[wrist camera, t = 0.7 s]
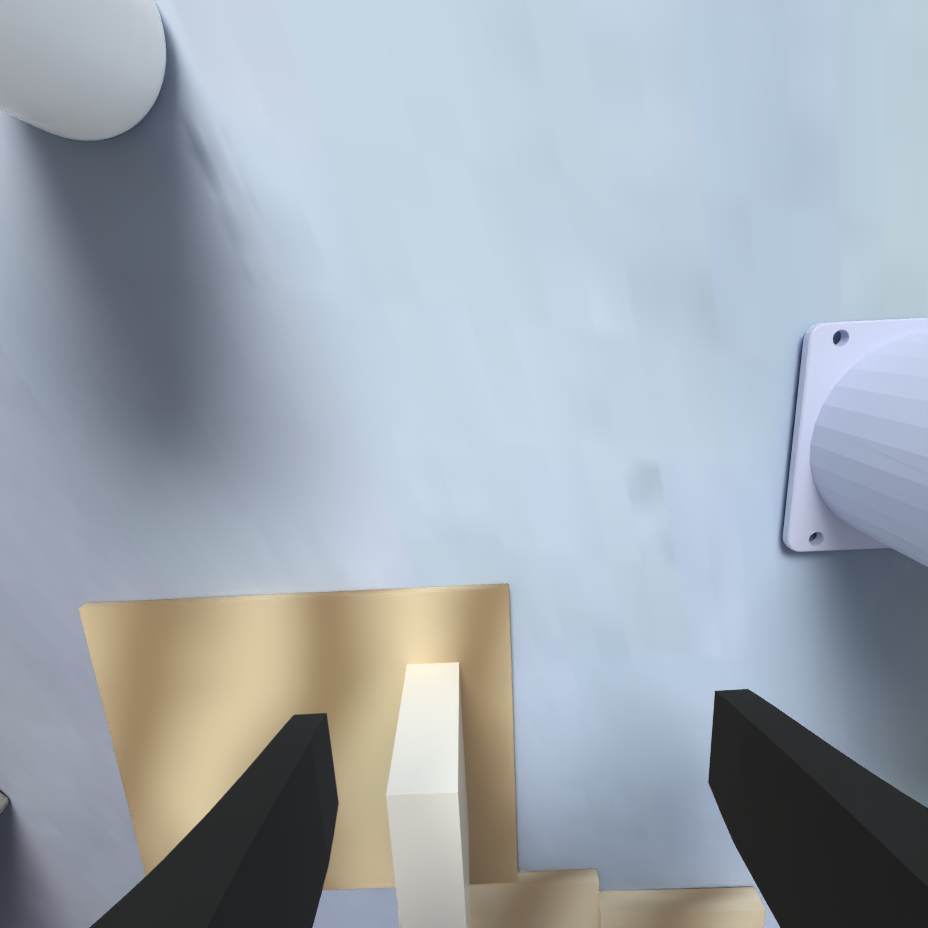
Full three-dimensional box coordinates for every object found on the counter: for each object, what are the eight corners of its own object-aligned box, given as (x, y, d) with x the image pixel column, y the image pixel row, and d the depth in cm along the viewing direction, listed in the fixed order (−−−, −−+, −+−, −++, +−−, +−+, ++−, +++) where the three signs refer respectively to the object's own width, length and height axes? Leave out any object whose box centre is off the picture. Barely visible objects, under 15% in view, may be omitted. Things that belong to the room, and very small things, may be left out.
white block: (459, 662, 21) (457, 792, 15) (468, 828, 23) (471, 999, 17) (404, 664, 21) (382, 795, 15) (418, 831, 23) (404, 1002, 17)
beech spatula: (756, 864, 24) (768, 886, 23) (749, 932, 25) (760, 957, 24) (460, 872, 24) (460, 894, 23) (464, 939, 25) (464, 963, 24)
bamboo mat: (508, 583, 21) (508, 588, 20) (517, 873, 24) (517, 882, 24) (85, 603, 21) (78, 608, 20) (156, 888, 24) (151, 897, 24)
